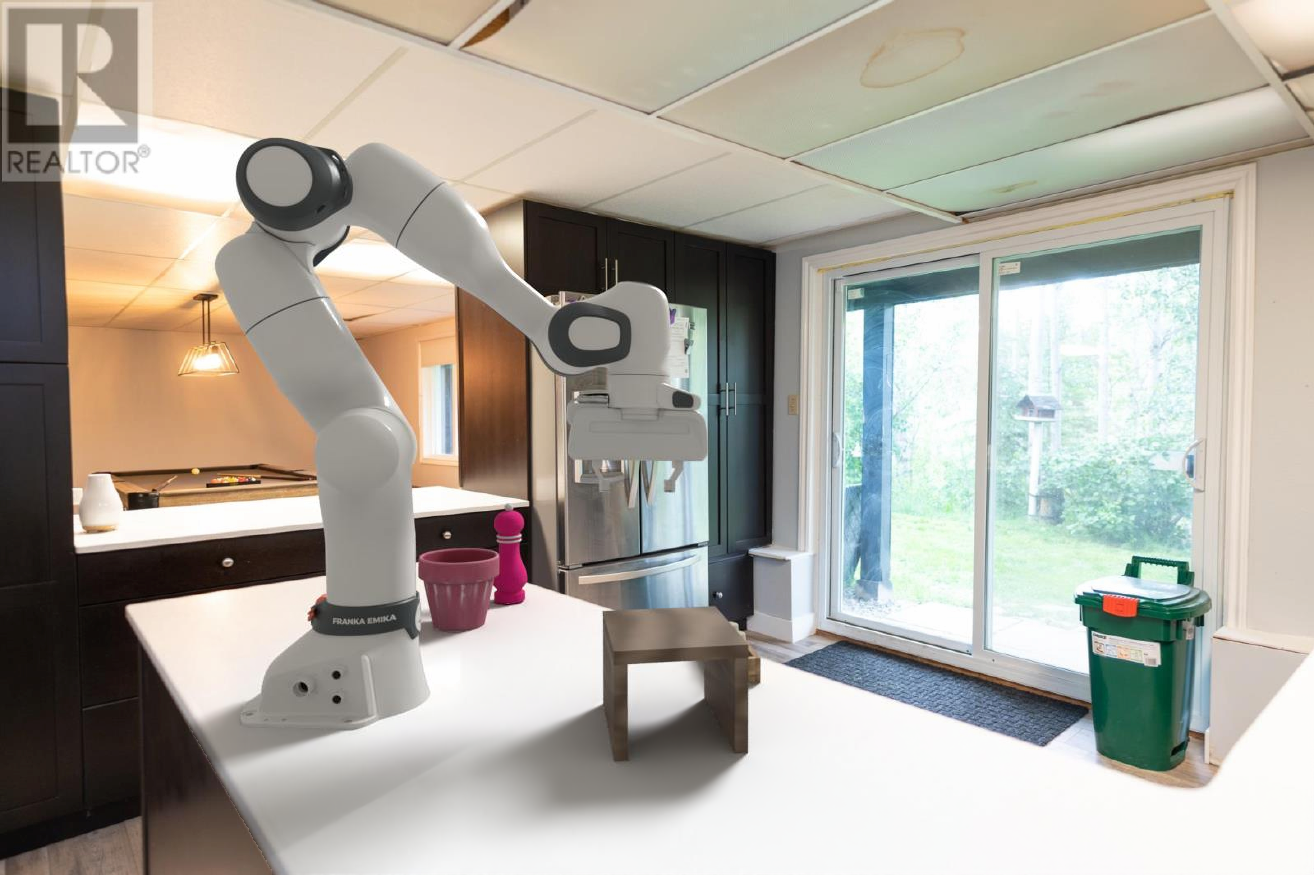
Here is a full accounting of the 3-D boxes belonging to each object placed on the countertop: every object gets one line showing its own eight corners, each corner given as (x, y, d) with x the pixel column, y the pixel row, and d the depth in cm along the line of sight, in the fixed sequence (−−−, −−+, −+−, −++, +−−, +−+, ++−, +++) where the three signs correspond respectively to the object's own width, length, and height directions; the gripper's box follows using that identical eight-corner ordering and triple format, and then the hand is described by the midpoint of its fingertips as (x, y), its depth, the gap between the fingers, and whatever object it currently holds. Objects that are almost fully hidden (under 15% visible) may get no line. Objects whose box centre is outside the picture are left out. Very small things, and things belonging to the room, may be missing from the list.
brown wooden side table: (614, 765, 77) (613, 651, 77) (603, 705, 93) (602, 611, 93) (748, 755, 79) (748, 644, 79) (715, 698, 95) (715, 606, 95)
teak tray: (718, 684, 100) (719, 641, 100) (696, 643, 118) (696, 606, 118) (760, 682, 101) (760, 639, 101) (732, 642, 119) (732, 605, 119)
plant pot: (516, 621, 131) (515, 552, 131) (457, 641, 119) (456, 566, 119) (462, 609, 139) (461, 544, 138) (401, 628, 127) (400, 556, 126)
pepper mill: (519, 605, 142) (518, 505, 141) (485, 603, 143) (484, 504, 143) (532, 596, 149) (532, 501, 148) (500, 594, 150) (499, 500, 150)
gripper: (566, 394, 98) (565, 493, 99) (711, 397, 101) (709, 494, 101) (566, 395, 104) (564, 489, 105) (703, 398, 107) (700, 490, 108)
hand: (637, 492), depth 103 cm, fingers open, 8 cm apart
